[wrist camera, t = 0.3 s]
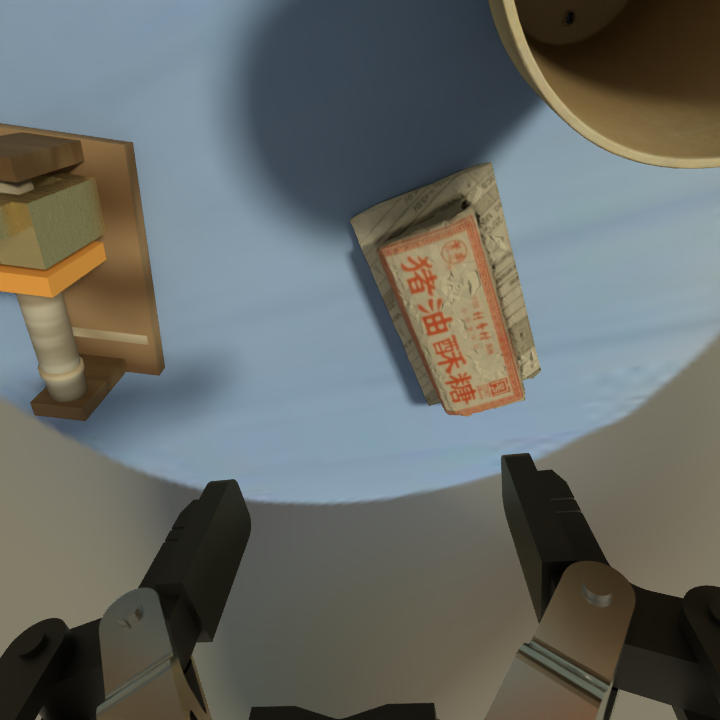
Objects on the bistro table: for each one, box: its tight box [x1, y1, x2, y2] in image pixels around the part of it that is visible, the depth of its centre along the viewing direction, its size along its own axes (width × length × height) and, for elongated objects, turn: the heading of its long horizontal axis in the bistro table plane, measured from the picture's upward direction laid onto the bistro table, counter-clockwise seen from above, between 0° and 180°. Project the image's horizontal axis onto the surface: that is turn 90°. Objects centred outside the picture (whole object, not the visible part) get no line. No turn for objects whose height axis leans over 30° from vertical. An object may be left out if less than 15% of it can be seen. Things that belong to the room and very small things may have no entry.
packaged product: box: [350, 162, 541, 416], centre depth 33 cm, size 18×5×10 cm
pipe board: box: [0, 123, 165, 421], centre depth 30 cm, size 18×9×8 cm, turn 173°
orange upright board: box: [0, 241, 106, 298], centre depth 27 cm, size 1×6×6 cm, turn 82°
